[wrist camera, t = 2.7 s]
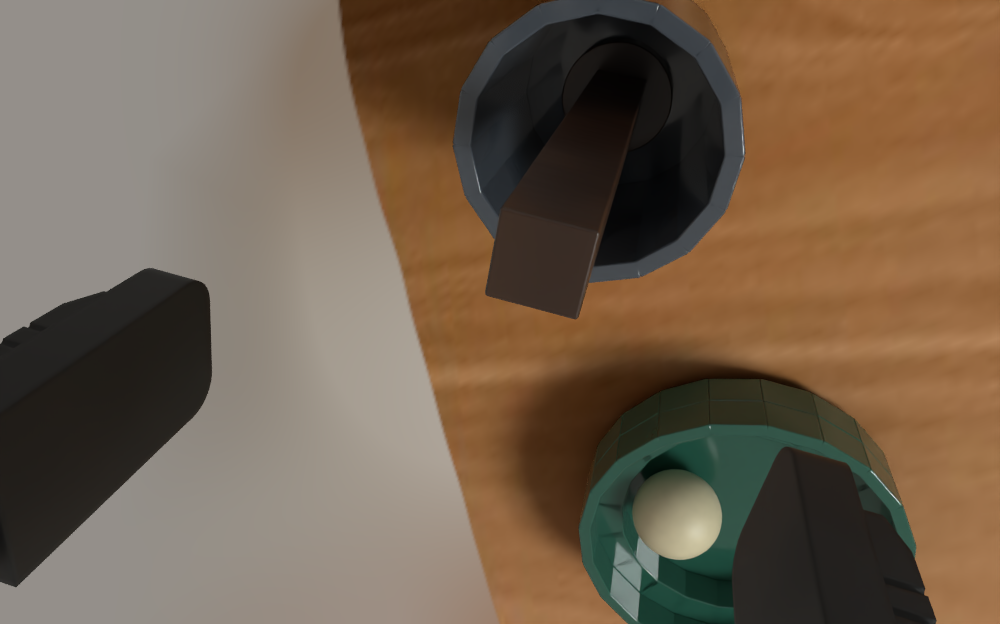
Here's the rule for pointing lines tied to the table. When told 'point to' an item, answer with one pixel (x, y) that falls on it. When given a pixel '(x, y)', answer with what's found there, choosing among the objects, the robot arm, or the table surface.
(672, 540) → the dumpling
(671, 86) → the dark brown wooden bar
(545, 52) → the crock
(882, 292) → the table surface
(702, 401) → the bowl
